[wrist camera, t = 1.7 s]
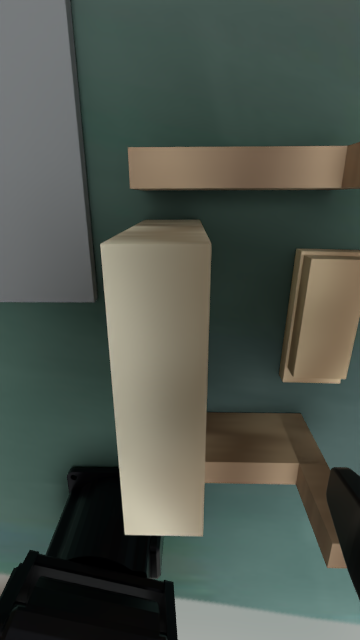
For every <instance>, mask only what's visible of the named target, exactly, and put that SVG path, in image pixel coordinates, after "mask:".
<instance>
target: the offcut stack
mask: <svg viewBox="0 0 360 640" xmlns="http://www.w3.org/2000/svg"><path fill="white" fill-rule="evenodd" d="M359 317H360V250H336V249H296V255H295V262H294V269H293V276H292V283H291V291H290V298H289V305H288V312H287V319H286V327H285V334H284V341H283V348H282V355H281V362H280V370H279V376H280V378H281V379H282V381H283V382H302V383H337V384H340V380H341V379H346V376H347V372H348V367H349V363H350V358H351V353H352V349H353V344H354V340H355V335H356V331H357V326H358V321H359Z"/></svg>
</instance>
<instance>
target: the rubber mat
mask: <svg viewBox="0 0 360 640" xmlns="http://www.w3.org/2000/svg"><path fill="white" fill-rule="evenodd" d="M97 299H98V295H97V284H96V274H95V263H94V252H93V241H92V230H91V219H90V208H89V198H88V187H87V176H86V165H85V154H84V143H83V132H82V122H81V111H80V100H79V89H78V78H77V67H76V56H75V46H74V35H73V24H72V13H71V2H70V0H0V302H95V301H96V300H97Z"/></svg>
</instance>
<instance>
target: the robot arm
mask: <svg viewBox="0 0 360 640" xmlns="http://www.w3.org/2000/svg"><path fill="white" fill-rule="evenodd" d="M74 475H76V476H74ZM67 480H68V486H69V493H70V495H69V497H68V500H67V502H66V505H65V507H64V510H63V512H62V515H61V517H60V520H59V522H58V525H57V527H56V530H55V532H54V535H53V537H52V540H51V542H50V545H49V547H48V550H47V553H46V555H42V554H39V552H38V551H33V550H30V551H29V552H28V554H27V556H26V558H25V560H24V562H23V563H20V564H19V566H18V567H16V568H14V569H13V571H12V573H11V576H10V578H9V580H8V582H7V584H6V586H5V588H4V590H3V592H2V594H1V596H0V640H178V639H177V626H176V612H175V598H174V585H173V582H171V581H167V580H164V582H163V581H158V580H154V579H158V578H159V576H160V575H161V565H162V551H163V537H164V536H158V535H125V531H124V519H123V507H122V496H121V484H120V472H119V468H72V469H70V470H69V472H68V475H67ZM326 499H327V503H328V506H329V510H330V513H331V517H332V520H333V523H334V527H335V530H336V533H337V537H338V540H339V544H340V547H341V550H342V554H343V557H344V560H345V563H346V566H347V569H348V572H349V575H350V577H351V580H352V582H353V585H354V587H355V590H356V592H357V595H358V597H359V600H360V476H359V475H358V474H356V473H355V472H354V471H353V470H351V469H349V468H345V467H334V468H332V469H331V471H330V475H329V480H328V485H327V490H326Z"/></svg>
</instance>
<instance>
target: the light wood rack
mask: <svg viewBox="0 0 360 640" xmlns="http://www.w3.org/2000/svg"><path fill="white" fill-rule="evenodd" d="M128 158H129V178H130V189H137V190H339V189H360V142H359V143H355V144H352V145H349V146H266V147H128ZM329 475H330V469H329V467H328V465H327V463H326V461H325V459H324V457H323V455H322V453H321V451H320V449H319V448H318V446H317V444H316V442H315V440H314V438H313V436H312V434H311V432H310V430H309V428H308V426H307V424H306V423H305V421H304V419H303V417H302V415H301V413H213V412H207V414H206V448H205V483H239V484H296V486H297V489H298V491H299V494H300V497H301V499H302V502H303V505H304V507H305V510H306V513H307V515H308V518H309V521H310V523H311V526H312V529H313V531H314V534H315V537H316V539H317V542H318V545H319V547H320V550H321V553H322V555H323V558H324V561H325V563H326V566H327V568H347V566H346V563H345V560H344V557H343V554H342V550H341V547H340V544H339V540H338V537H337V533H336V530H335V527H334V523H333V520H332V517H331V513H330V510H329V506H328V503H327V499H326V490H327V485H328V480H329Z"/></svg>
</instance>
